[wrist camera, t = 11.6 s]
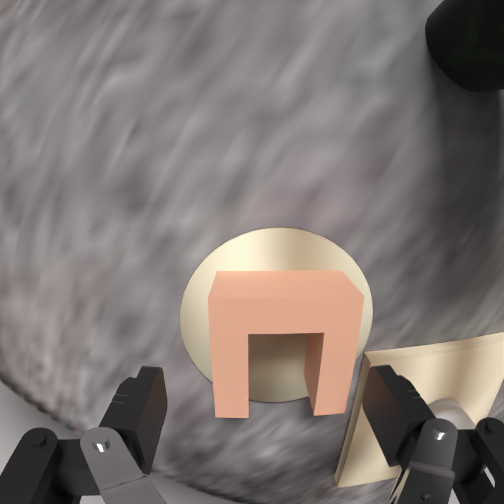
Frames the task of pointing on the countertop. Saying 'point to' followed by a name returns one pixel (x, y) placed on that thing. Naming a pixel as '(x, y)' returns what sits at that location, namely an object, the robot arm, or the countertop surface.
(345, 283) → the c link
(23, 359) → the countertop surface
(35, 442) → the robot arm
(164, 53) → the countertop surface
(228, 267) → the coaster
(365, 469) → the peg stand
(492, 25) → the cup
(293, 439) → the countertop surface
